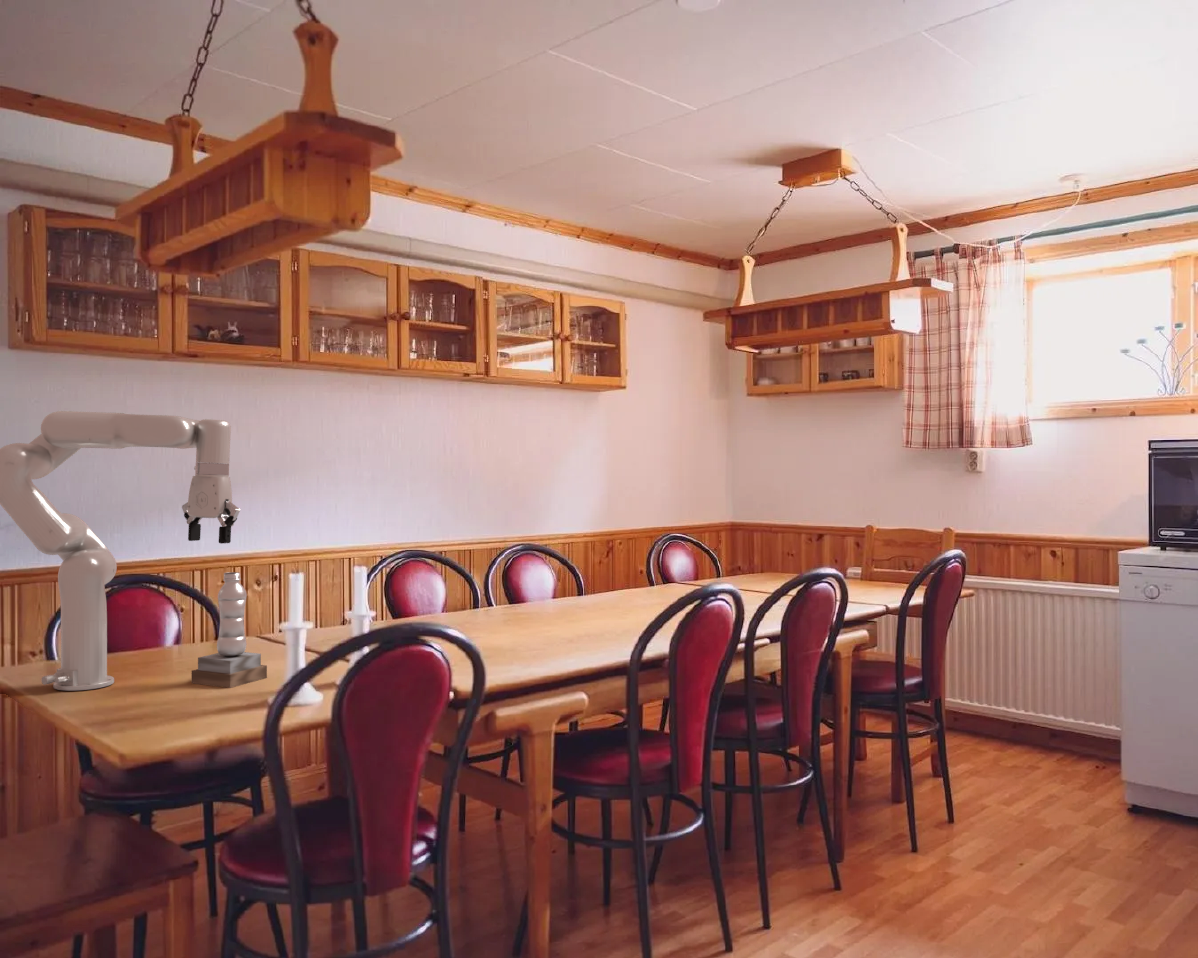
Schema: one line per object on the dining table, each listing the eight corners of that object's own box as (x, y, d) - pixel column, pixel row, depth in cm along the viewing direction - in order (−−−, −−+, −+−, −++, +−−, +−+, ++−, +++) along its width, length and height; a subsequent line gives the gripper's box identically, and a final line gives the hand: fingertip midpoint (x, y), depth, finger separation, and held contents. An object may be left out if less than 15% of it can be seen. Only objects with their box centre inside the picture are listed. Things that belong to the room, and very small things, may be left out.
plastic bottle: (212, 655, 231) (212, 572, 231) (239, 652, 236) (239, 570, 236) (223, 659, 227) (223, 575, 226) (251, 655, 231) (251, 573, 231)
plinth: (230, 687, 224) (230, 662, 224) (191, 683, 228) (191, 658, 228) (266, 677, 235) (266, 653, 235) (229, 673, 240) (229, 649, 239)
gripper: (173, 469, 231) (170, 540, 231) (227, 471, 224) (224, 545, 224) (197, 470, 238) (194, 538, 238) (251, 472, 231) (248, 543, 231)
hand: (209, 541), depth 231 cm, fingers open, 9 cm apart
